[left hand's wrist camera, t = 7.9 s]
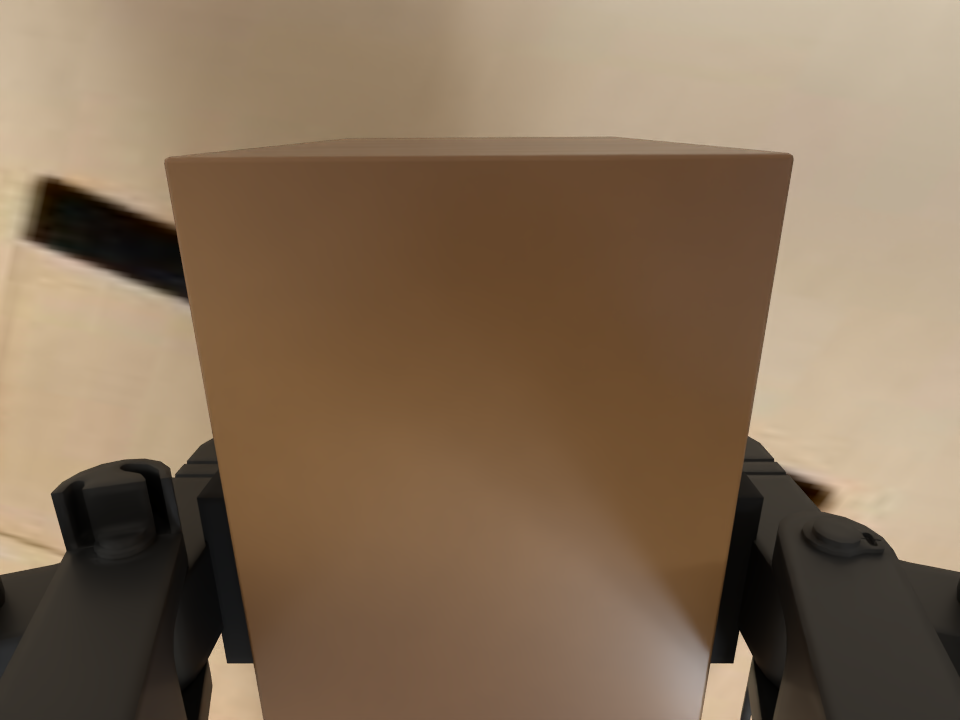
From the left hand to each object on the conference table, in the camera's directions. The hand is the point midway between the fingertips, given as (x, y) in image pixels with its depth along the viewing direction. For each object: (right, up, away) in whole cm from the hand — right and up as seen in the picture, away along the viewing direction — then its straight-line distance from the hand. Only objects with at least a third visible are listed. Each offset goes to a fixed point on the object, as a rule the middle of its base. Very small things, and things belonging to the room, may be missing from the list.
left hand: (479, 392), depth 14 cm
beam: (0, -30, +12) cm, 33 cm away
